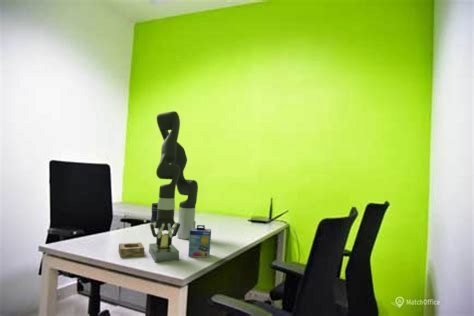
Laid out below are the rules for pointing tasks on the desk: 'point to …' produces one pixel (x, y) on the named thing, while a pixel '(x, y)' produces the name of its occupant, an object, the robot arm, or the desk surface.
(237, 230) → the desk surface
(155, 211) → the storage jar
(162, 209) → the robot arm
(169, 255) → the block with square hole
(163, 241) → the axle
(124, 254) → the socket block
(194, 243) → the ink cartridge box
